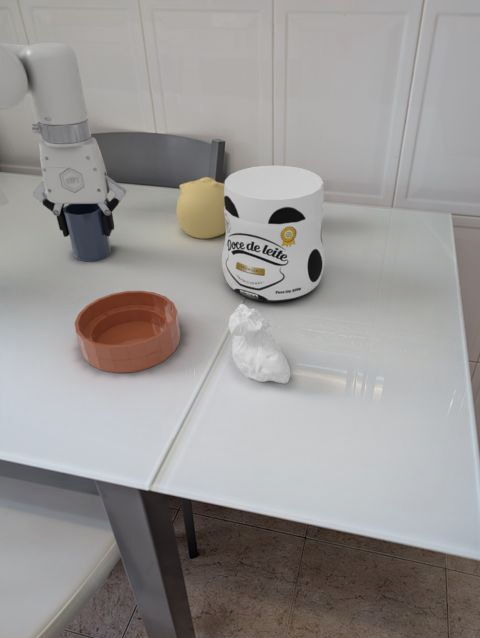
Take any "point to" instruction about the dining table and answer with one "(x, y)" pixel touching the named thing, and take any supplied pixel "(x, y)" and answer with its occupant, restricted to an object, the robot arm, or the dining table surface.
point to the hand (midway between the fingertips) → (88, 232)
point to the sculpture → (202, 208)
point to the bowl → (128, 331)
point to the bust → (256, 347)
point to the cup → (87, 232)
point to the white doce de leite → (273, 232)
